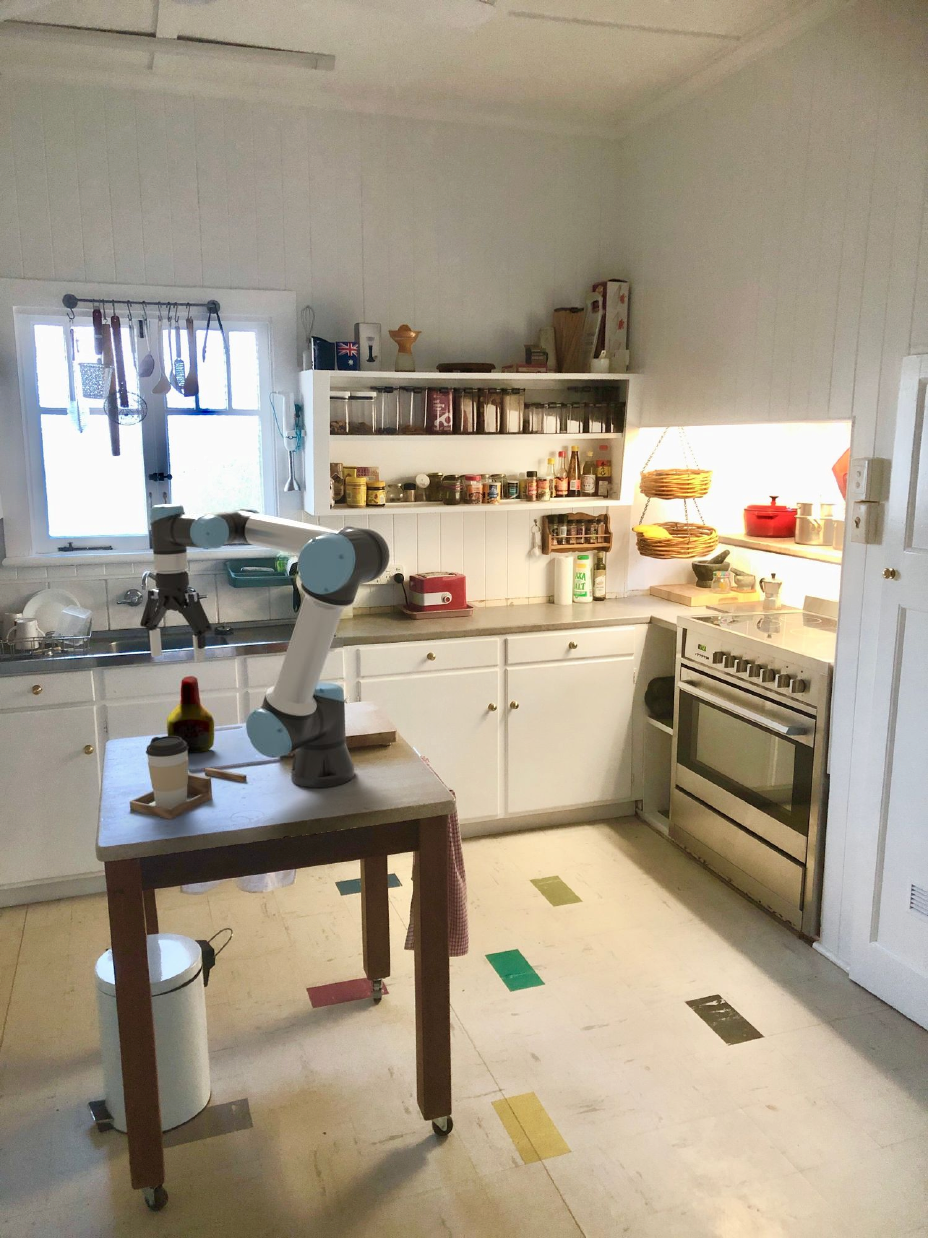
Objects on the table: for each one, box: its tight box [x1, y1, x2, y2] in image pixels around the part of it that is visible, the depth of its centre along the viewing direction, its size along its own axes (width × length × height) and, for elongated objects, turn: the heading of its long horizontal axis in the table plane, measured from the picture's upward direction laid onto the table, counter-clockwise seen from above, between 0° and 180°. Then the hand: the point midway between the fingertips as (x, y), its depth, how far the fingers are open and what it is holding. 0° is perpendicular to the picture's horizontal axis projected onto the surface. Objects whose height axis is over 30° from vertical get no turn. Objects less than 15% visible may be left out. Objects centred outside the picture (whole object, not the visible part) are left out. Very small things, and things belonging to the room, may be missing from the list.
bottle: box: [166, 675, 215, 753], centre depth 246 cm, size 12×6×20 cm, turn 89°
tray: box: [129, 772, 213, 820], centre depth 213 cm, size 12×13×5 cm
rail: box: [204, 767, 247, 783], centre depth 229 cm, size 12×1×2 cm, turn 63°
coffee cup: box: [145, 735, 189, 809], centre depth 211 cm, size 9×9×15 cm
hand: (178, 659), depth 227 cm, fingers open, 13 cm apart
